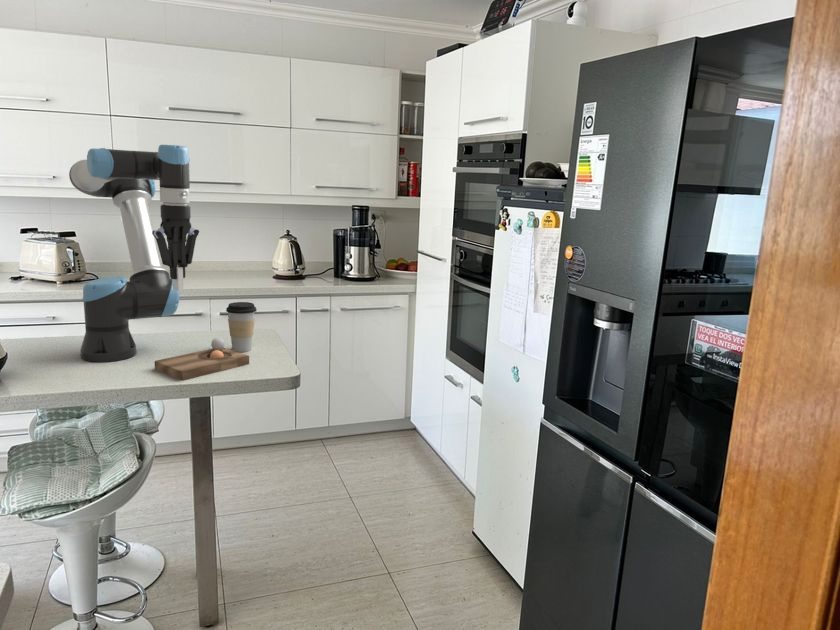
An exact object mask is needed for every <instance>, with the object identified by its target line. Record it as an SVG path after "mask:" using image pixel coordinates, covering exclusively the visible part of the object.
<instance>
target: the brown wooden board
mask: <svg viewBox="0 0 840 630" xmlns="http://www.w3.org/2000/svg"><path fill="white" fill-rule="evenodd" d="M213 351H215V350H214V349H213V348H209V349H205V350H200V351H195V352H190V353H186V354H180V355H177V356H176V355H175V356H171V357H166V358H163V359H157V360H154V370H155V371H158V372H161V373H164V374H166V375H168V376H170V377H173V378H176V379H179V380H181V381H185V380H189V379H194V378H198V377H202V376H206V375H210V374H214V373H217V372H221V371H226V370H230V369H233V368H238V367H242V366H245V365H250V355H248V354H245V353H243V352H236V351H233V350H232V349H229V348H226V347H224V348H223V349H222V350H220V351H221V352H222V353H223V355H224V356H223V357H220V358H210V354H211V353H212V352H213Z"/></svg>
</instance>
